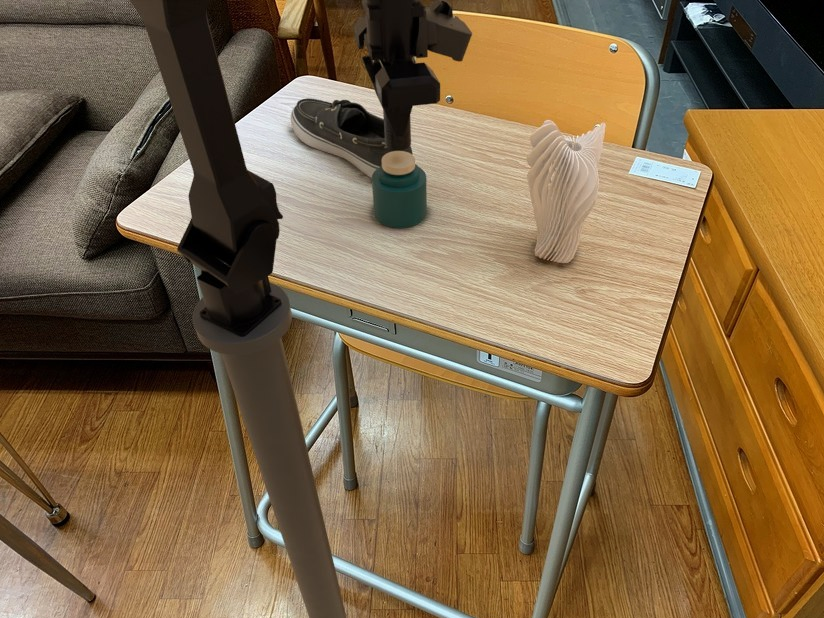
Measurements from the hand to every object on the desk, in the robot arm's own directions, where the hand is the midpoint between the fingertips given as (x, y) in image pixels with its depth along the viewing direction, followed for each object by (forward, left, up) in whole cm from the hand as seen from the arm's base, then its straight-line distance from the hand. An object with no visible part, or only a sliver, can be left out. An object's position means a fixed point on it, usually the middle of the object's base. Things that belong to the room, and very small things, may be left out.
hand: (397, 129), depth 80 cm
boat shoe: (+10, +15, -12) cm, 22 cm away
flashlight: (0, 0, -2) cm, 2 cm away
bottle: (0, 0, -12) cm, 12 cm away
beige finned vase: (+3, -21, -12) cm, 24 cm away
